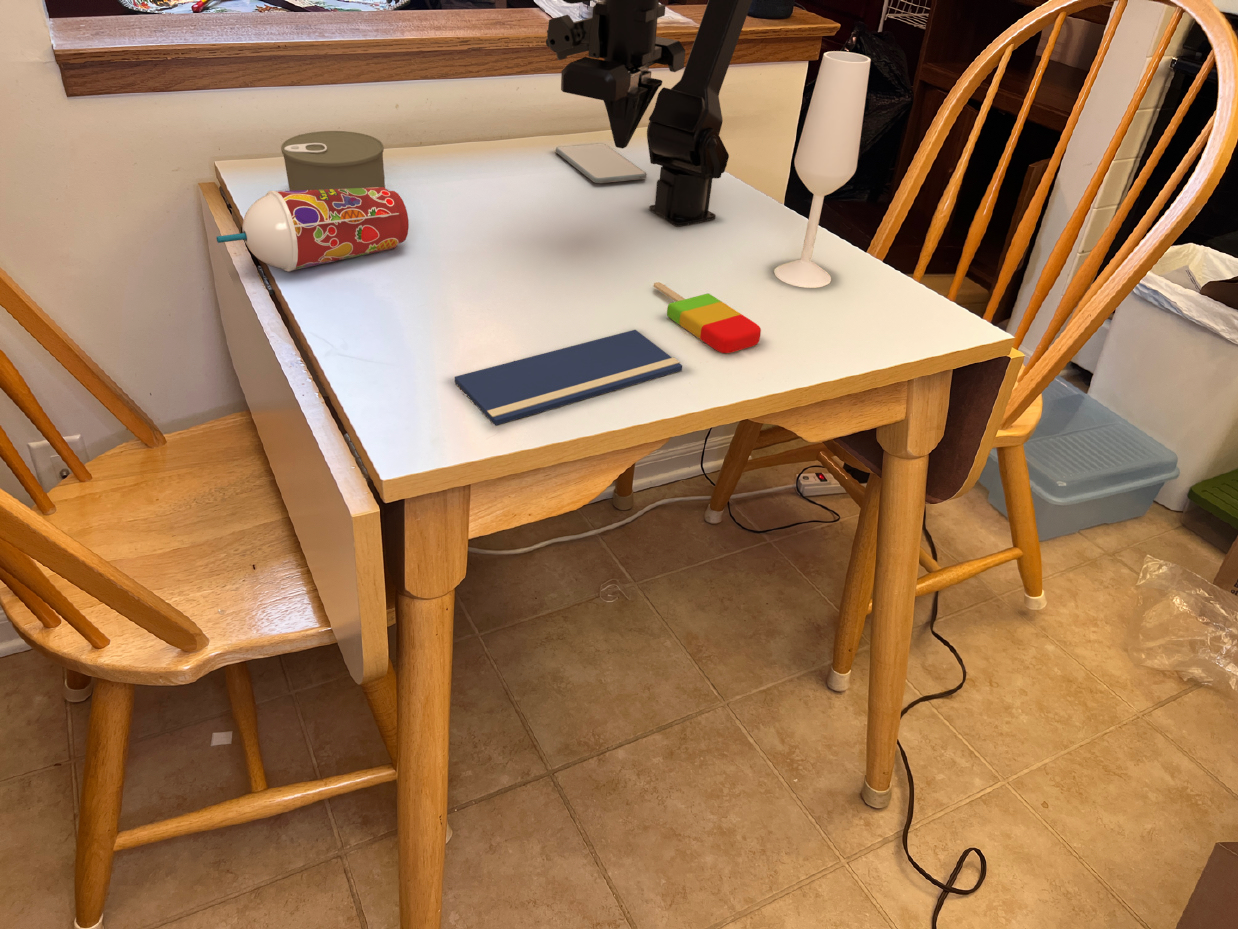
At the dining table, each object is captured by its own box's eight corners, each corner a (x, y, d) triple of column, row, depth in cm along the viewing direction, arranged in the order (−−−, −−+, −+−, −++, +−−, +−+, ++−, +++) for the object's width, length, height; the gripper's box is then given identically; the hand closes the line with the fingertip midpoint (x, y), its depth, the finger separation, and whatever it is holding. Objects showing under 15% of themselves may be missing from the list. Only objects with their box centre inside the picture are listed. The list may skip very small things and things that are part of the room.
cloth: (634, 334, 92) (635, 328, 92) (682, 370, 87) (682, 364, 87) (454, 382, 83) (454, 375, 82) (495, 426, 78) (495, 419, 77)
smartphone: (604, 142, 139) (649, 173, 128) (604, 148, 139) (648, 180, 128) (553, 146, 135) (595, 178, 125) (553, 152, 136) (594, 185, 125)
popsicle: (722, 357, 90) (725, 340, 89) (634, 295, 99) (636, 280, 98) (764, 344, 93) (767, 328, 91) (674, 285, 102) (676, 270, 101)
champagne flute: (796, 258, 111) (838, 46, 96) (842, 277, 107) (893, 60, 93) (762, 272, 107) (800, 53, 92) (809, 293, 103) (856, 68, 89)
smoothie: (400, 167, 100) (212, 185, 89) (422, 242, 101) (238, 269, 90) (375, 192, 107) (197, 211, 96) (395, 262, 108) (221, 289, 97)
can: (394, 215, 113) (389, 159, 109) (292, 221, 109) (284, 164, 105) (380, 181, 122) (376, 128, 118) (286, 186, 118) (278, 132, 114)
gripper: (603, -29, 102) (595, 114, 112) (516, -7, 89) (515, 153, 98) (694, -14, 99) (678, 132, 108) (618, 10, 85) (608, 175, 94)
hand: (620, 147), depth 102 cm, fingers closed
